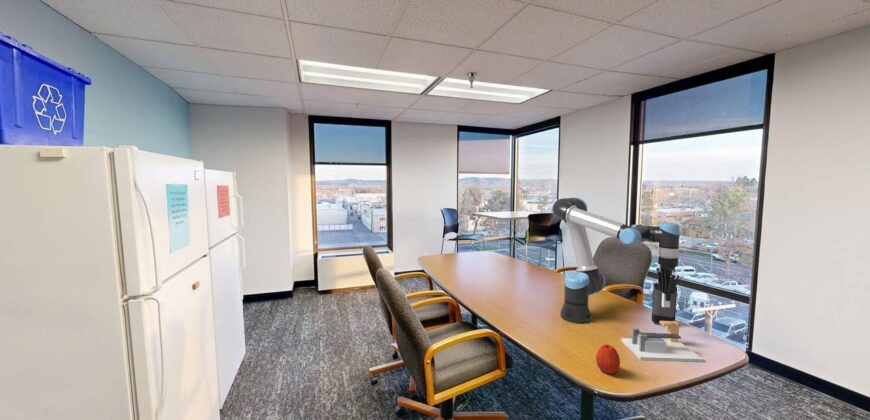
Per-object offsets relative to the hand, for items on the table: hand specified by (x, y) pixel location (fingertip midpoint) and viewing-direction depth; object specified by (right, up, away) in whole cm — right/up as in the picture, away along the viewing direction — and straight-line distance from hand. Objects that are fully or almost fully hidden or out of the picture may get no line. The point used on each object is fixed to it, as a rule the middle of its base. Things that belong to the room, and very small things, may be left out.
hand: (665, 306), depth 150 cm
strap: (-11, -9, -12) cm, 19 cm away
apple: (-41, -17, -26) cm, 51 cm away
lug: (-2, -14, -5) cm, 15 cm away
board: (-11, -16, -11) cm, 22 cm away
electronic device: (+10, -13, +15) cm, 22 cm away
